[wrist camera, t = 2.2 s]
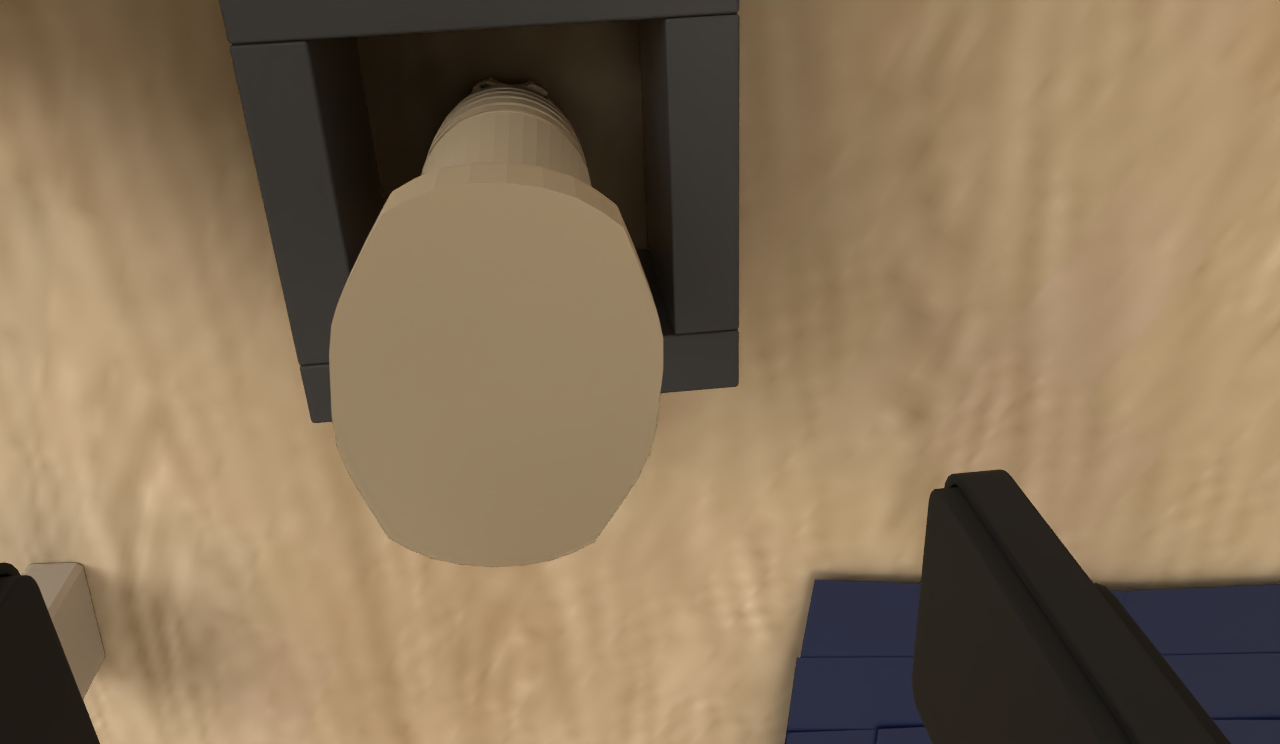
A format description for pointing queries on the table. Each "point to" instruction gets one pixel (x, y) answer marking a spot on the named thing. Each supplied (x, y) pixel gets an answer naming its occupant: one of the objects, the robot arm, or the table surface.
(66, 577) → the lighter
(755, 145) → the table surface
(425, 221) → the handle
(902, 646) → the navy flat block
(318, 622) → the table surface
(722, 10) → the holder
